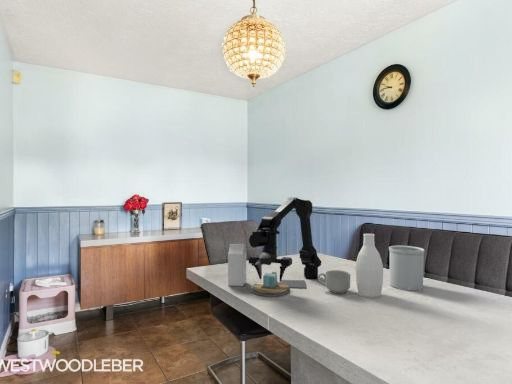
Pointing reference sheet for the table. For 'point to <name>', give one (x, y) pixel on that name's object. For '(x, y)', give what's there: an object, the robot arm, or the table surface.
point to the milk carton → (236, 265)
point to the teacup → (336, 281)
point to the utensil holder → (406, 267)
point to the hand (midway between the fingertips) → (270, 280)
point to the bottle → (369, 269)
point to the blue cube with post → (270, 280)
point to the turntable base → (270, 294)
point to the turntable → (270, 288)
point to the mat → (294, 283)
